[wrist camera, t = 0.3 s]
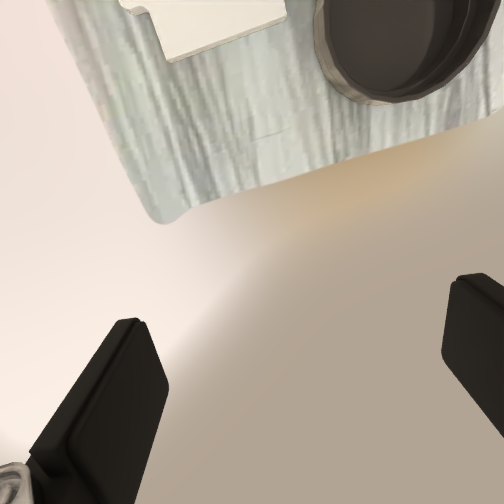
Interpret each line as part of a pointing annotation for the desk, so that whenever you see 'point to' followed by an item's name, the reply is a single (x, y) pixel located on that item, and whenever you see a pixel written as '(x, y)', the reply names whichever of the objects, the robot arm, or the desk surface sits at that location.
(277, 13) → the mounting plate
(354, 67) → the bowl
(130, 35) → the desk surface
